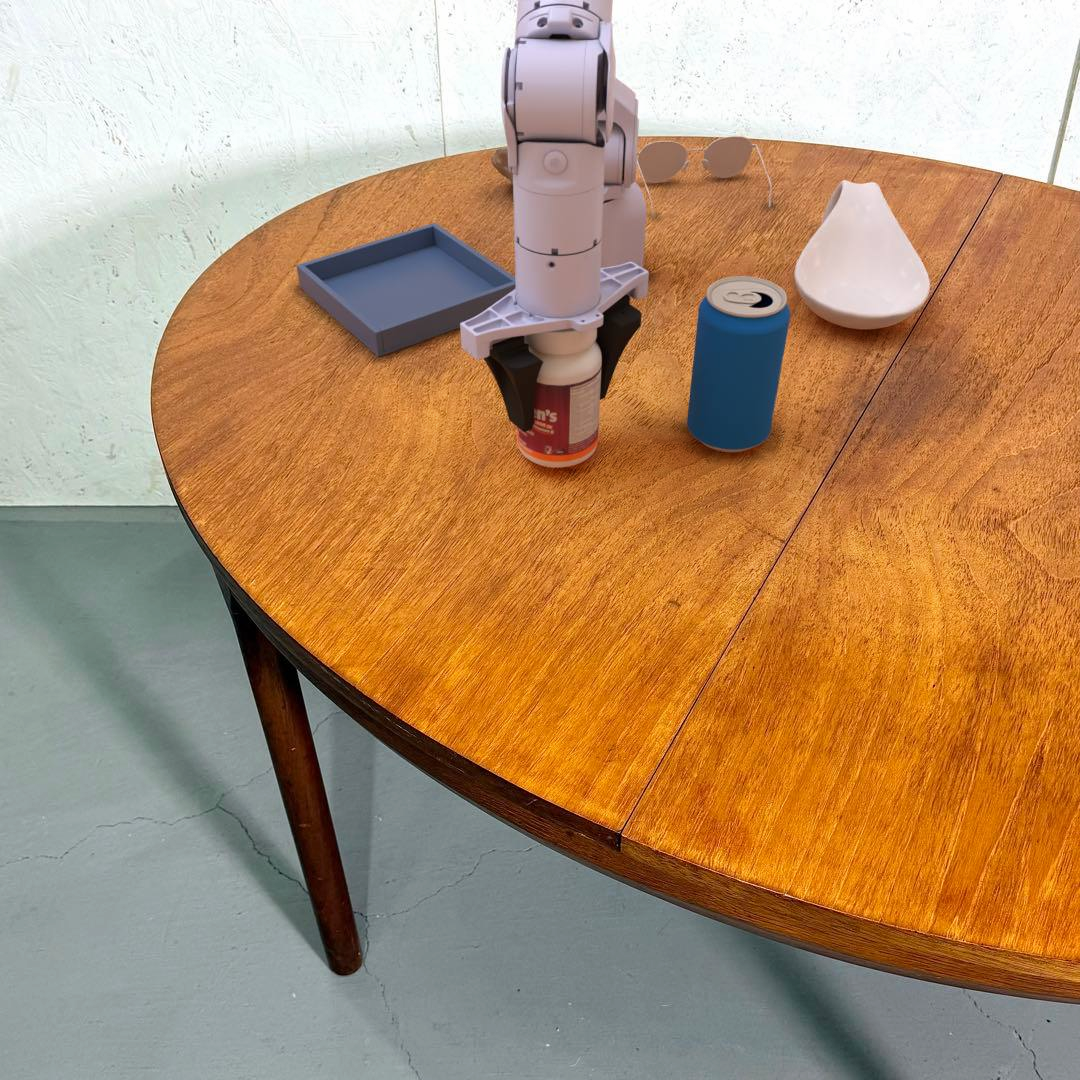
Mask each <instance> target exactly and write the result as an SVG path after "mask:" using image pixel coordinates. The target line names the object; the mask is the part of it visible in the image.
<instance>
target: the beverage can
mask: <svg viewBox="0 0 1080 1080" xmlns="http://www.w3.org/2000/svg"><path fill="white" fill-rule="evenodd" d="M787 301H788V295H787V293H786V291H785V290H784V289H783V288H782V287H780V286H779V285H778V284H777V283H775V282H772V281H770V280H768V279H764V278H760V277H755V276H746V275H736V276H727V277H724V278H721V279H718V280H716V281H713V282H712V283H711V284H710V285H709V286H708V288H707V289H706V295H705V296H704V297H703V298H702V300H701V301H700V303H699V306H698V313H697V320H696V321H697V323H696V331H695V339H694V341H695V342H694V348H693V349H694V350H693V358H692V359H693V360H692V367H691V368H692V369H691V380H690V388H689V397H688V406H687V408H688V409H687V416H686V426H687V429H688V431H689V433H690V435H692V437H694V439H696V440H697V441H699V442H700V443H702V444H703V445H704V446H706V447H708V448H710V449H712V450H714V451H718V452H723V453H740V452H744V451H747V450H750V449H753V448H755V447H757V446H760V445H761V444H763V443H765V442H766V441H767V440H768V438H769V437H770V435H771V433H772V432H771V431H772V427H773V420H774V415H775V408H776V402H777V396H778V390H779V385H780V379H781V374H782V367H783V361H784V356H785V349H786V345H787V344H786V343H787V338H788V333H789V327H790V321H791V311H790V308H789V305H788V304H787Z"/></svg>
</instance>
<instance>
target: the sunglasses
mask: <svg viewBox="0 0 1080 1080" xmlns="http://www.w3.org/2000/svg"><path fill="white" fill-rule="evenodd" d="M753 148H755V149H756V151H757V153H758V156H759V159H760V161H761V163H762V166H763V168H764V171H765V173H766V177H767V180H768V183H769V197H768V208H771V204H772V203H771V202H772V187H773V186H772V182H771V179H770V176H769V174H768V172H767V168H766V166H765V162H764V160H763V157H762V155H761V151H760V148H759V147H758V145H757V144H756V143H752V142H751V140H750V139H749V138H747V137H746V136H742V135H732V136H731V135H730V136H723V137H720V138H717V139H715V140H713V141H712V142H711V143H709V144H708V145H707V147H706V148H691V149H688V150H687V148H685V146H684V145H683V144H681V142H677V141H673V140H659V141H658V140H657V141H652V142H650V143H647V144H646V145H644V146H643V147H642V148H641V150H639V151H637V164H636V167H637V168H638V172H639V174H640V177H641V178H642V181H643V183H644V187H645V189H646V191H647V194H648V197H649V200H650V201H649V202H650V205H651V211H652V216H653V217H655V215H654V207H653V202H652V197H651V193H650V191H649V187H648V185H647V184H646V182H647V183H653V184H660V183H664V182H667V181H669V180H671V179H672V178H674V177H675V176H676V175H677V174H678V173H680V172H682V173H684V171H685V170H686V169H687V168H688V166H689V164H690V160H688V159H687V158H688V154H689V153H690V152H693V151H704V152H703V159H702V160H701V164H702V167H703V169H704V170H705V171H708V172H709V173H710V174H711V176H714V177H716V178H720V179H727V178H732V177H735V176H737V175H738V174H740V173H741V172H742V171H744V169H745V168H746V166H748V165H747V164H748V162H749V161H750V158H751V155H752V152H753Z"/></svg>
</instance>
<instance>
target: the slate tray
mask: <svg viewBox="0 0 1080 1080" xmlns="http://www.w3.org/2000/svg"><path fill="white" fill-rule="evenodd" d="M295 266H296V270H297V271H296V273H297V276H298V283H299V289H301V290H302V291H303V293H305V294H306V295H307V296H308V297H309V298H311V299H312V301H314V302H316V304H318V305H319V306H320V307H321V308H322V309H324V311H326V313H328V314H329V315H330V316H331V317H332V318H334V319H335V320H336V322H338V323H339V324H340V325H341V326H342V327H344V329H346V330H347V331H348V332H350V334H351V335H353V336H354V337H355V338H356V339H357V340H358V341H359V342H361V343H362V344H363V345H364V346H365V347H367V349H369V350H370V351H371V352H372V353H373V354H374V355H375V356H376V357H377V358H380V357H383V356H386V355H389V354H391V353H394V352H396V351H400V350H403V349H404V348H407V347H411V346H413V345H416V344H419V343H422V342H424V341H427V340H430V339H433V338H435V337H438V336H441V335H444V334H446V333H449V332H452V331H455V330H458V329H460V323H462V322H464V321H467V320H469V319H471V318H473V317H475V316H477V315H479V314H480V313H482V312H483V311H485V310H486V309H488V308H489V307H490V306H492V305H493V304H495V303H496V302H498V301H499V300H500V299H502V298H503V297H505V296H506V295H507V294H509V293H510V292H512V291H513V290H514V289H516V284H515V275H513V274H511V273H510V272H508V271H507V270H506V269H504V268H503V267H501V266H500V265H498V264H497V263H496V262H494V261H492V260H491V259H489V258H488V257H487V256H485V255H483V254H482V253H480V252H479V251H478V250H476V249H475V248H473V247H472V246H470V245H468V244H467V243H465V241H463V240H461V239H460V238H458V237H457V236H455V235H454V234H453V233H451V232H449V231H448V230H446V229H445V228H444V227H442V226H441V225H439V224H438V223H436V222H433V223H429V224H426V225H423V226H420V227H416V228H413V229H410V230H407V231H403V232H400V233H397V234H393V235H390V236H387V237H383V238H379V239H378V240H374V241H371V242H367V243H364V244H360V245H358V246H354V247H351V248H348V249H344V250H341V251H338V252H333V253H332V254H327V255H324V256H321V257H318V258H314V259H312V260H308V261H305V262H302V263H298V264H296V265H295Z"/></svg>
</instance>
